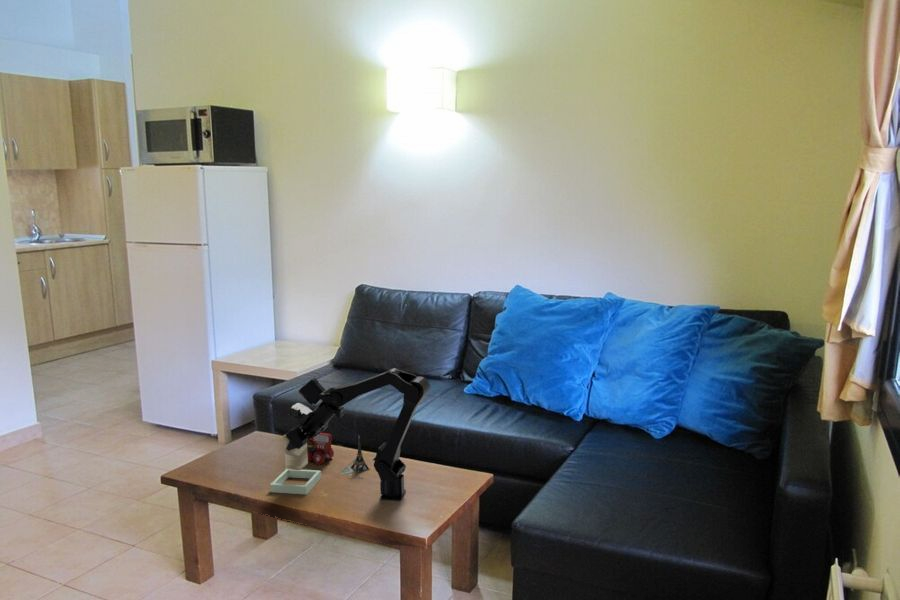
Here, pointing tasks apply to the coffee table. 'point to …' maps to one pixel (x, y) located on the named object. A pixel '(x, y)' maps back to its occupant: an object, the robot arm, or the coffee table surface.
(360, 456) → the eiffel tower figurine
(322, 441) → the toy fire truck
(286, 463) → the maple block
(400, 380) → the robot arm
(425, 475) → the coffee table surface
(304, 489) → the frame
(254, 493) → the coffee table surface
